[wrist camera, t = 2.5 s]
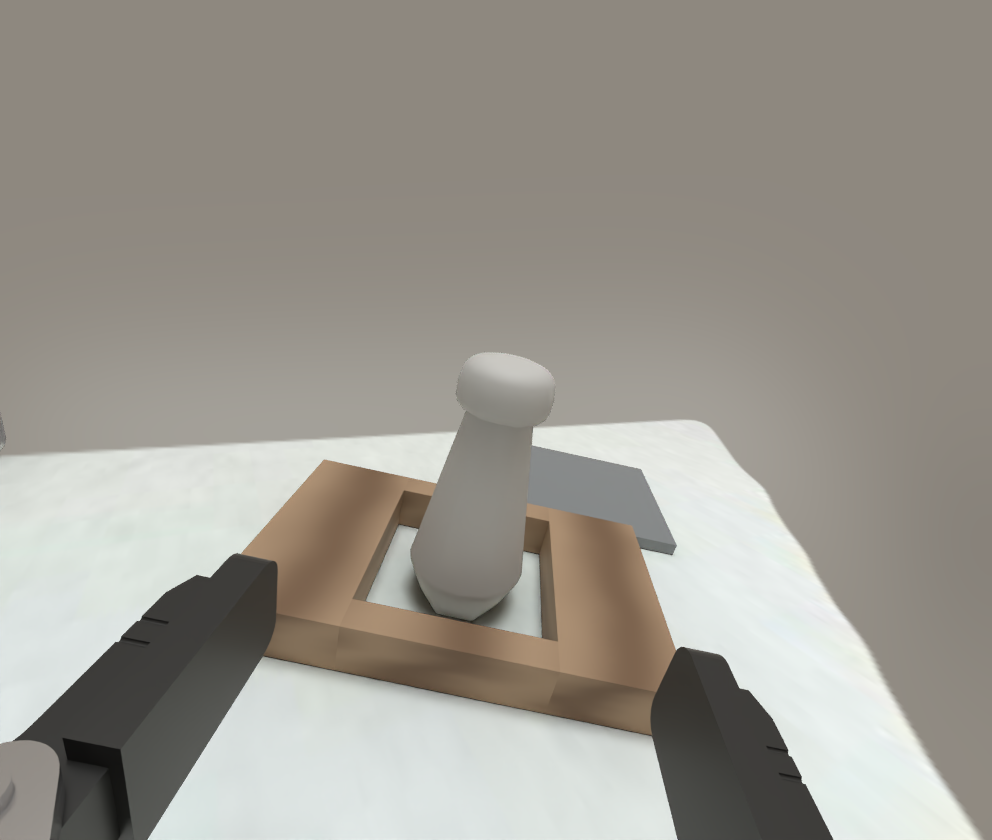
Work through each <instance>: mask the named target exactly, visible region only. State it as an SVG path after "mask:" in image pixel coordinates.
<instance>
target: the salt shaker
mask: <svg viewBox="0 0 992 840" xmlns="http://www.w3.org/2000/svg"><path fill="white" fill-rule="evenodd" d="M554 395H555V381H554V379H553V377H552V375H551V374H550V372H549V371H548V370H547V369H546V368H544V367H543V366H542V365H539V364H537V363H535V362H533V361H530V360H528V359H526V358H523V357H519V356H516V355H511V354H505V353H480V354H476V355H474V356H472V357H471V358H469V359H467V360H466V362H465V363H464V365H463V367H462V370H461V372H460V375H459V378H458V382H457V390H456V396H457V401H458V402H459V403H460V405H461V406H462V408H463V409H464V410H466V412H465V415H464V417H463V420H462V422H461V425H460V427H459V430H458V432H457V435H456V437H455V440H454V442H453V445H452V447H451V450H450V452H449V455H448V457H447V460H446V462H445V465H444V467H443V470H442V472H441V475H440V477H439V480H438V482H437V485H436V487H435V490H434V492H433V495H432V497H431V500H430V502H429V505H428V507H427V510H426V512H425V515H424V517H423V520H422V522H421V525H420V527H419V530H418V532H417V535H416V537H415V540H414V542H413V545H412V547H411V561H412V564H413V567H414V570H415V574H416V577H417V579H418V582H419V585H420V588H421V590H422V591H423V593H424V595H425V596H426V598H427V599H428V601H429V603H430V604H431V606H432V608H433V609H434V611H435V612H436V613H437V614H441V615H445V616H450V617H454V618H459V619H463V620H468V621H473V620H474V619H476V618H478V617H479V616H481V615H482V614H484V613H485V612H487V611H488V610H490V609H491V608H493V607H494V606H496V605H497V604H498V603H499V602H500V601H501V600H502V599H503V598H504V597H505V596H506V595H507V594H508V593H509V592H510V590H511V589H512V588H513V587H514V586H515V585H516V584H517V582H518V580H519V578H520V576H521V573H522V560H523V547H524V535H525V522H526V509H527V497H528V484H529V471H530V458H531V446H532V433H533V426H537V425H539V424H540V423H542V422H544V421H545V420H546V419H547V418H548V416H549V414H550V412H551V408H552V406H553V402H554Z"/></svg>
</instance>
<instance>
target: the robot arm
mask: <svg viewBox="0 0 992 840" xmlns="http://www.w3.org/2000/svg"><path fill="white" fill-rule="evenodd" d="M5 440H6V436H5V431H4V427H3V423H2V418H1V413H0V451H1V449H2V448H3V447H4V446H5ZM277 580H278V566H277V563H276V562H275V561H272V560H267V559H262V558H257V557H253V556H248V555H243V554H238V553H237V554H233V555H232V556H230V557H229V558H228V559H227V560H226V561H225V562H224V563H223V565H222V566H221V567H220V568H219V569H218V570H217V571H216V572H215V573H214V574H213V575H212V576H211V578H208V577H203V576H199V575H196V576H194V577H193V578H191V579H189V580H187V581H185V582H184V583H182V584H180V585H178V586H177V587H175V588H173V589H171V590H169V591H168V592H166V593H165V594H164V595H163V596H162V597H161V598H160V599H159V600H158V601H157V602H156V603H155V604H154V605H153V606H152V607H151V608H150V609H149V610H148V611H147V612H146V613H145V614H144V615H143V616H142V618H141V620H140V621H137V622H136V623H134V624H133V625H132V626H131V627H130V628H129V629H128V630H127V631H126V632H125V633H124V634H123V635H122V636H121V640H120V641H119V642H115V643H114V644H113V645H112V646H111V647H110V648H109V649H108V650H107V651H106V652H105V653H104V654H103V655H102V656H101V657H100V658H99V659H98V660H97V661H96V662H95V663H94V664H93V665H92V666H91V667H90V668H89V669H88V670H87V671H86V672H85V673H84V674H83V675H82V676H81V677H80V678H79V679H78V680H77V681H76V682H75V683H74V684H73V685H72V686H71V687H70V688H69V689H68V690H67V691H66V692H65V693H64V694H63V695H62V696H61V697H60V698H59V699H58V700H57V701H56V702H55V703H54V704H53V705H52V706H51V707H50V708H49V709H47V710H46V711H45V712H44V713H43V714H42V715H41V716H40V717H39V718H38V719H37V720H36V721H35V722H34V723H33V724H32V725H31V726H30V727H29V728H28V729H27V730H26V731H25V732H24V733H22V734H21V735H20V736H19V737H17V738H16V739H15V740H13V741H12V742H6V743H2V744H0V840H147V839H148V838H149V836H150V834H151V833H152V831H153V830H154V828H155V826H156V825H157V823H158V822H159V820H160V818H161V817H162V815H163V814H164V812H165V811H166V809H167V807H168V806H169V804H170V803H171V801H172V799H173V798H174V796H175V795H176V793H177V791H178V790H179V788H180V787H181V785H182V784H183V782H184V780H185V779H186V777H187V776H188V774H189V772H190V771H191V769H192V768H193V766H194V764H195V763H196V761H197V760H198V758H199V757H200V755H201V753H202V752H203V750H204V749H205V747H206V745H207V744H208V742H209V741H210V739H211V737H212V736H213V734H214V733H215V731H216V730H217V728H218V726H219V725H220V723H221V722H222V720H223V718H224V717H225V715H226V714H227V712H228V710H229V709H230V707H231V706H232V704H233V703H234V701H235V699H236V698H237V696H238V695H239V693H240V691H241V690H242V688H243V687H244V685H245V683H246V682H247V680H248V679H249V677H250V676H251V674H252V672H253V671H254V669H255V668H256V666H257V664H258V663H259V661H260V660H261V658H262V656H263V655H264V653H265V651H266V649H267V647H268V645H269V643H270V641H271V638H272V635H273V632H274V628H275V624H276V610H277ZM650 723H651V732H652V737H653V741H654V745H655V749H656V753H657V758H658V762H659V766H660V770H661V774H662V778H663V782H664V786H665V790H666V794H667V798H668V802H669V806H670V810H671V814H672V818H673V822H674V826H675V831H676V835H677V839H678V840H833V838H832V836H831V834H830V832H829V830H828V828H827V826H826V824H825V822H824V820H823V818H822V816H821V814H820V812H819V810H818V808H817V806H816V804H815V802H814V800H813V798H812V796H811V794H810V792H809V790H808V788H807V786H806V784H803V783H802V780H801V778H802V776H801V774H800V773H799V771H798V769H797V767H796V765H795V763H794V761H793V759H792V757H790V756H789V755H788V749H787V747H786V745H785V743H784V741H783V739H782V737H781V735H780V733H779V731H778V729H777V727H776V725H775V723H774V721H773V719H772V718H771V717H770V715H769V714H768V713H767V712H766V711H765V709H764V708H763V707H762V706H761V705H760V703H759V702H758V701H757V700H756V699H755V697H754V696H753V695H752V694H751V693H750V691H749V690H744V689H739V687H738V685H737V682H736V680H735V678H734V676H733V674H732V672H731V669H730V667H729V665H728V663H727V661H726V660H725V659H724V658H723V657H722V656H721V655H719V654H714V653H709V652H704V651H700V650H695V649H690V648H685V647H680V648H679V649H677V651H676V652H675V654H674V656H673V658H672V660H671V662H670V664H669V666H668V669H667V671H666V673H665V675H664V677H663V679H662V681H661V683H660V686H659V688H658V690H657V692H656V694H655V696H654V699H653V702H652V706H651V715H650Z"/></svg>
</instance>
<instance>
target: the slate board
mask: <svg viewBox="0 0 992 840" xmlns="http://www.w3.org/2000/svg"><path fill="white" fill-rule="evenodd" d="M527 503H529V504H533V505H538V506H543V507H547V508H552V509H557V510H561V511H566V512H571V513H575V514H580V515H585V516H589V517H594V518H599V519H603V520H608V521H613V522H617V523H622V524H627V525H631V526H632V527H633V529H634V532H635V535H636V538H637V541H638V544H639V547H640V548H644V549H649V550H653V551H658V552H663V553H667V554H672V555H673V553H674V550H675V548H676V546H677V545H676V543H675V541H674V539H673V537H672V534H671V532H670V530H669V528H668V526H667V524H666V522H665V519H664V517H663V515H662V513H661V511H660V509H659V507H658V505H657V502H656V500H655V498H654V496H653V494H652V492H651V490H650V487H649V485H648V483H647V481H646V479H645V477H644V475H643V473H642V470H641V469H637V468H633V467H628V466H624V465H619V464H614V463H610V462H605V461H601V460H596V459H591V458H587V457H582V456H578V455H573V454H568V453H564V452H559V451H555V450H550V449H545V448H541V447H536V446H531V458H530V471H529V484H528V497H527Z"/></svg>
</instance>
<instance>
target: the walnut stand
mask: <svg viewBox="0 0 992 840" xmlns="http://www.w3.org/2000/svg"><path fill="white" fill-rule="evenodd" d="M436 485H437V484H436V483H431V482H426V481H422V480H417V479H412V478H408V477H403V476H398V475H394V474H389V473H384V472H380V471H375V470H370V469H366V468H361V467H356V466H352V465H347V464H342V463H338V462H333V461H328V460H323V461H322V463H321V464H320V465H319V466H318V467H317V468H316V469H315V471H314V472H313V473H312V474H311V475H310V476H309V477H308V478H307V480H306V481H305V482H304V483H303V484H302V485H301V486H300V488H299V489H298V490H297V491H296V492H295V493H294V494H293V495H292V497H291V498H290V499H289V500H288V501H287V502H286V503H285V504H284V506H283V507H282V508H281V509H280V510H279V511H278V512H277V514H276V515H275V516H274V517H273V518H272V519H271V520H270V521H269V523H268V524H267V525H266V526H265V527H264V528H263V529H262V531H261V532H260V533H259V534H258V535H257V536H256V537H255V538H254V540H253V541H252V542H251V543H250V544H249V545H248V546H247V548H246V549H245V550H244V551H243V552H242V553H241V554H243V555H248V556H253V557H257V558H262V559H267V560H272V561H275V562H276V563H277V566H278V580H277V610H276V624H275V628H274V632H273V635H272V638H271V641H270V643H269V645H268V647H267V649H266V651H265V653H264V655H263V656H268V657H273V658H277V659H282V660H287V661H292V662H297V663H302V664H307V665H311V666H316V667H321V668H326V669H331V670H336V671H341V672H346V673H350V674H355V675H360V676H365V677H370V678H375V679H380V680H384V681H389V682H394V683H399V684H404V685H409V686H414V687H418V688H423V689H428V690H433V691H438V692H443V693H448V694H452V695H457V696H462V697H467V698H472V699H477V700H482V701H487V702H491V703H496V704H501V705H506V706H511V707H516V708H521V709H525V710H530V711H535V712H540V713H545V714H550V715H555V716H559V717H564V718H569V719H574V720H579V721H584V722H589V723H593V724H598V725H603V726H608V727H613V728H618V729H623V730H628V731H632V732H637V733H642V734H647V735H652V732H651V723H650V715H651V706H652V702H653V699H654V696H655V694H656V692H657V690H658V688H659V686H660V683H661V681H662V679H663V677H664V675H665V673H666V671H667V669H668V666H669V664H670V662H671V660H672V658H673V656H674V654H675V652H676V649H675V646H674V644H673V641H672V638H671V635H670V632H669V629H668V627H667V624H666V621H665V618H664V615H663V612H662V609H661V607H660V604H659V601H658V598H657V595H656V592H655V589H654V587H653V584H652V581H651V578H650V575H649V572H648V569H647V567H646V564H645V561H644V558H643V555H642V552H641V549H640V547H639V544H638V541H637V538H636V535H635V532H634V529H633V527H632V526H631V525H627V524H622V523H617V522H613V521H608V520H603V519H599V518H594V517H589V516H585V515H580V514H575V513H571V512H566V511H561V510H557V509H552V508H547V507H543V506H538V505H533V504H529V503H527V509H526V522H525V535H524V547H523V551H528V552H533V553H537V554H539V556H540V585H541V614H542V638H538V637H533V636H528V635H524V634H519V633H514V632H509V631H504V630H500V629H495V628H490V627H485V626H480V625H476V624H471V623H466V622H461V621H457V620H452V619H447V618H442V617H437V616H433V615H428V614H423V613H418V612H413V611H409V610H404V609H399V608H394V607H390V606H385V605H380V604H375V603H370V602H366V601H365V600H366V598H367V595H368V593H369V591H370V588H371V586H372V584H373V582H374V579H375V577H376V575H377V572H378V570H379V568H380V566H381V563H382V561H383V559H384V556H385V554H386V552H387V550H388V547H389V545H390V543H391V540H392V538H393V536H394V534H395V531H396V529H397V527H398V524H401V525H406V526H410V527H415V528H419V527H420V525H421V522H422V520H423V517H424V515H425V512H426V510H427V507H428V505H429V502H430V500H431V497H432V495H433V492H434V490H435V487H436Z"/></svg>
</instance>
